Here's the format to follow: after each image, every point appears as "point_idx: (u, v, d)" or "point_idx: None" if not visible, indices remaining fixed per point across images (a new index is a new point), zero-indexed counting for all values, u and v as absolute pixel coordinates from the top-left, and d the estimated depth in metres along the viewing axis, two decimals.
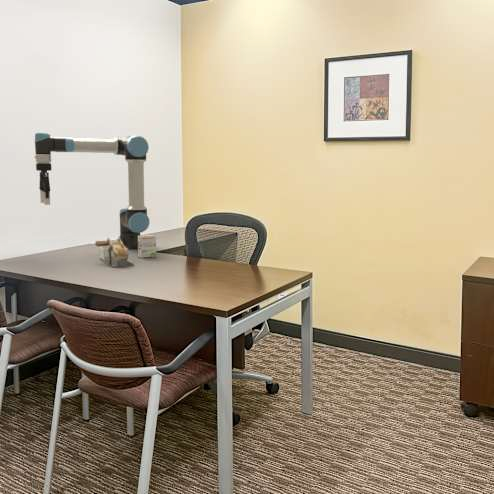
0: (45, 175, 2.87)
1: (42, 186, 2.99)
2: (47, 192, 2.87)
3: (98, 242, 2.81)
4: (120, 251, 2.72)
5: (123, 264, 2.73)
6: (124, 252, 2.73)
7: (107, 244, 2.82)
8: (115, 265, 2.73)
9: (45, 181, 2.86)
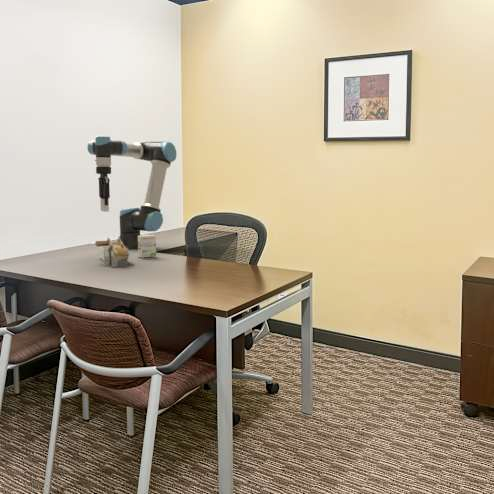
0: (106, 182, 2.86)
1: (102, 192, 2.95)
2: (106, 199, 2.89)
3: (98, 242, 2.81)
4: (120, 251, 2.72)
5: (123, 264, 2.73)
6: (124, 252, 2.73)
7: (107, 244, 2.82)
8: (115, 265, 2.73)
9: (105, 188, 2.87)
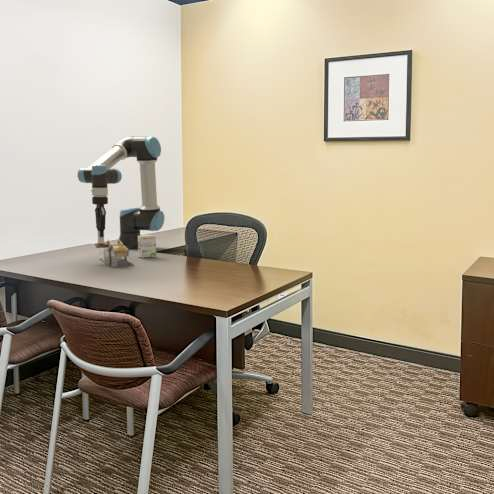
0: (102, 214, 2.75)
1: None
2: (102, 231, 2.79)
3: (98, 244, 2.82)
4: (120, 248, 2.72)
5: (123, 264, 2.73)
6: (124, 249, 2.73)
7: (107, 245, 2.83)
8: (115, 265, 2.73)
9: (101, 220, 2.76)
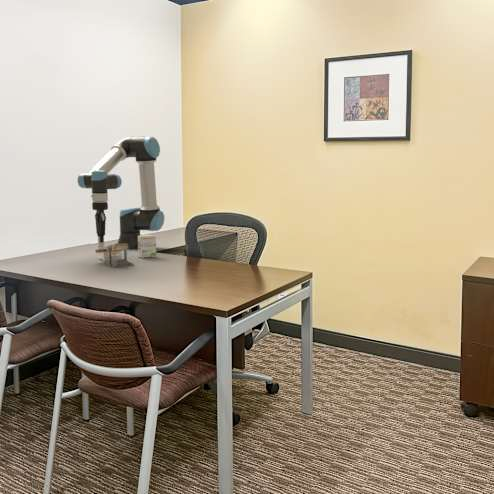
0: (102, 220, 2.75)
1: None
2: (102, 236, 2.80)
3: (98, 249, 2.82)
4: None
5: (123, 264, 2.73)
6: None
7: None
8: (115, 265, 2.73)
9: (101, 226, 2.76)
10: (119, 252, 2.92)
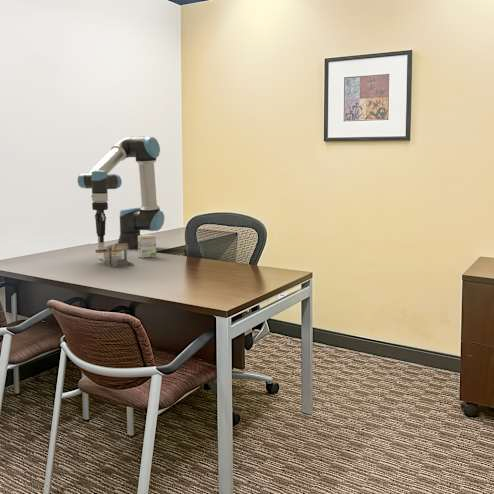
0: (102, 220, 2.75)
1: None
2: (102, 236, 2.80)
3: None
4: None
5: (123, 264, 2.73)
6: None
7: None
8: (115, 265, 2.73)
9: (101, 226, 2.76)
10: (119, 252, 2.92)
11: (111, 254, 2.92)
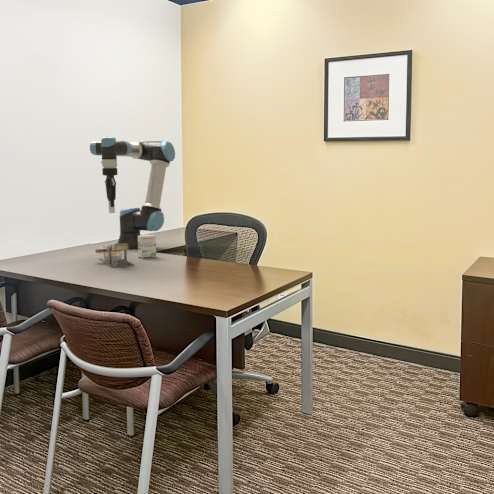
0: (112, 185, 2.87)
1: None
2: (112, 201, 2.92)
3: None
4: None
5: (123, 264, 2.73)
6: None
7: None
8: (115, 265, 2.73)
9: (112, 191, 2.88)
10: (119, 252, 2.92)
11: None
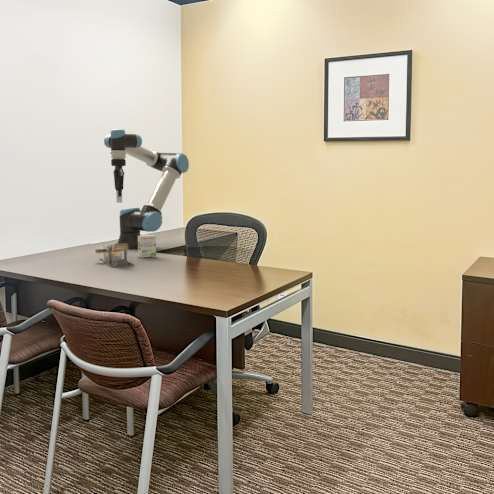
0: (121, 175, 2.98)
1: None
2: (120, 190, 3.03)
3: None
4: None
5: (123, 264, 2.73)
6: None
7: None
8: (115, 265, 2.73)
9: (120, 180, 2.99)
10: (119, 252, 2.92)
11: None
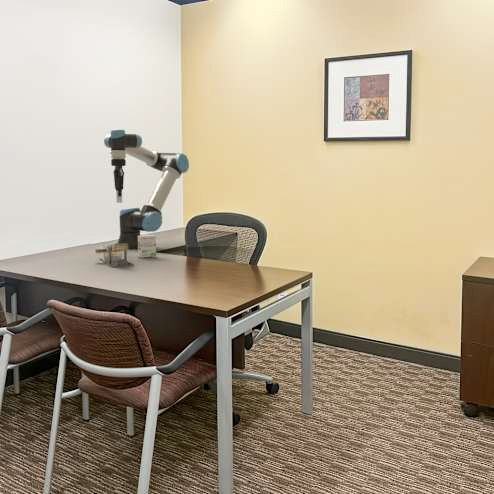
0: (121, 175, 2.98)
1: None
2: (120, 190, 3.03)
3: None
4: None
5: (123, 264, 2.73)
6: None
7: None
8: (115, 265, 2.73)
9: (120, 180, 2.99)
10: (119, 252, 2.92)
11: None
